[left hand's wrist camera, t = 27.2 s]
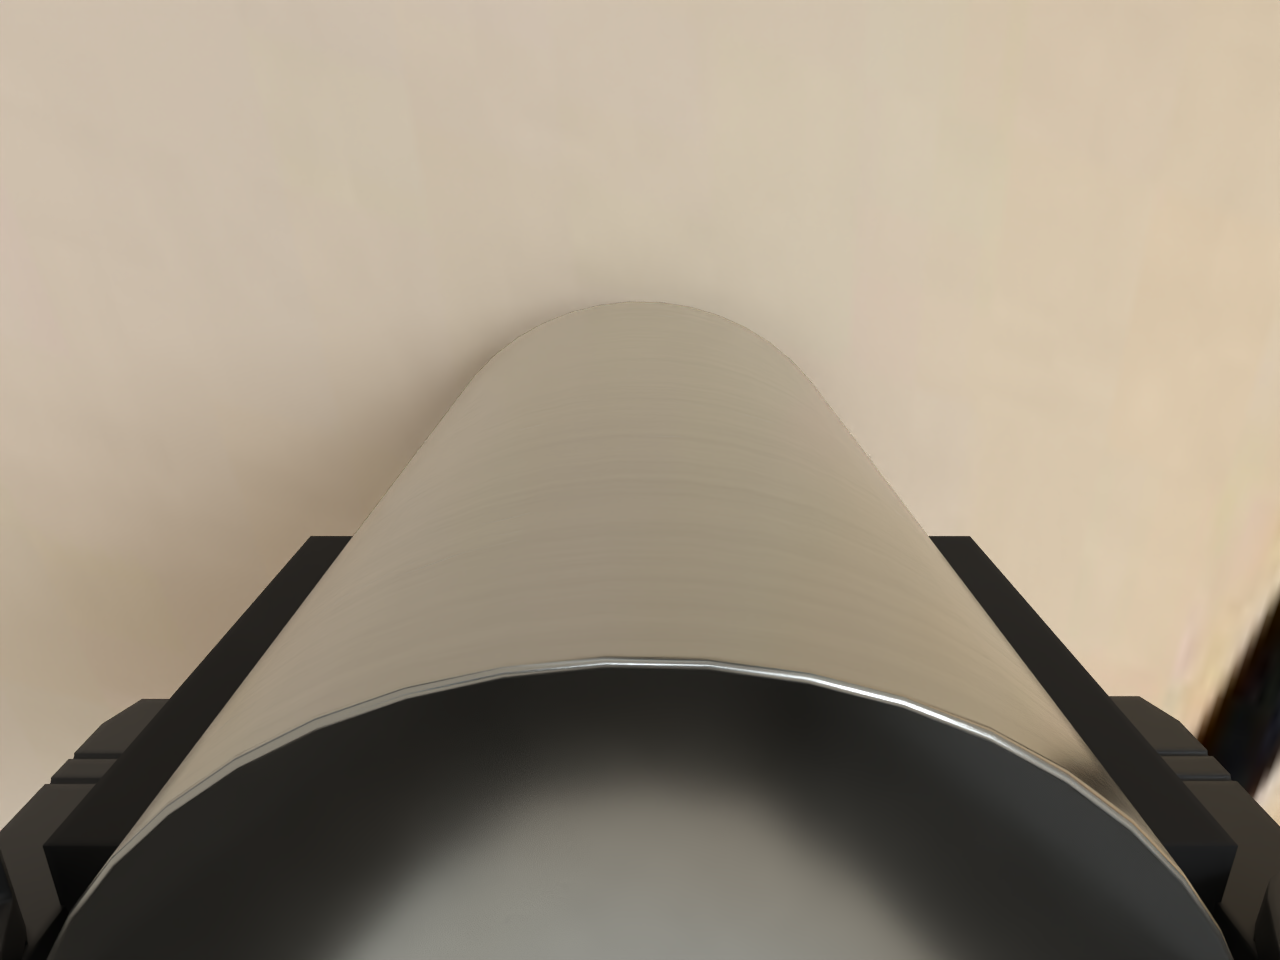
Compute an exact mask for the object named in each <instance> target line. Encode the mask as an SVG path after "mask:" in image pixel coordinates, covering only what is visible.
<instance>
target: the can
mask: <svg viewBox="0 0 1280 960" xmlns="http://www.w3.org/2000/svg"><path fill="white" fill-rule="evenodd" d="M46 960H1234V959H1233V957H1232V955H1231V952H1230V950H1229V948H1228V945H1227V943H1226V940H1225V938H1224V936H1223V933H1222V931H1221V929H1220V927H1219V926H1218V924H1217V923H1216V921H1215V919H1214V918H1213V916H1212V915H1211V913H1210V912H1209V910H1208V909H1207V907H1206V906H1205V904H1204V903H1203V901H1202V900H1201V898H1200V897H1199V895H1198V894H1197V892H1196V891H1195V889H1194V888H1193V886H1192V885H1191V883H1190V882H1189V880H1188V879H1187V877H1186V876H1185V874H1184V873H1183V871H1182V870H1181V869H1180V867H1179V866H1178V865H1177V863H1176V862H1175V861H1174V860H1173V858H1172V857H1171V856H1170V854H1169V853H1168V852H1167V850H1166V849H1165V848H1164V846H1163V845H1162V844H1161V842H1160V841H1159V840H1158V838H1157V837H1156V836H1155V834H1154V833H1153V832H1152V831H1151V829H1150V828H1149V827H1148V825H1147V824H1146V823H1145V821H1144V820H1143V819H1142V817H1141V816H1140V815H1139V813H1138V812H1137V811H1136V809H1135V808H1134V807H1133V805H1132V804H1131V803H1130V802H1129V800H1128V799H1127V798H1126V796H1125V795H1124V794H1123V792H1122V791H1121V790H1120V788H1119V787H1118V786H1117V784H1116V783H1115V782H1114V780H1113V779H1112V778H1111V776H1110V775H1109V774H1108V773H1107V771H1106V770H1105V769H1104V767H1103V766H1102V765H1101V763H1100V762H1099V761H1098V759H1097V758H1096V757H1095V755H1094V754H1093V753H1092V751H1091V750H1090V749H1089V747H1088V746H1087V745H1086V744H1085V742H1084V741H1083V740H1082V738H1081V737H1080V736H1079V734H1078V733H1077V732H1076V730H1075V729H1074V728H1073V726H1072V725H1071V724H1070V722H1069V721H1068V720H1067V718H1066V717H1065V716H1064V715H1063V713H1062V712H1061V711H1060V709H1059V708H1058V707H1057V705H1056V704H1055V703H1054V701H1053V700H1052V699H1051V697H1050V696H1049V695H1048V693H1047V692H1046V691H1045V689H1044V688H1043V687H1042V686H1041V684H1040V683H1039V682H1038V680H1037V679H1036V678H1035V676H1034V675H1033V674H1032V672H1031V671H1030V670H1029V668H1028V667H1027V666H1026V664H1025V663H1024V662H1023V660H1022V659H1021V658H1020V656H1019V655H1018V654H1017V653H1016V651H1015V650H1014V649H1013V647H1012V646H1011V645H1010V643H1009V642H1008V641H1007V639H1006V638H1005V637H1004V635H1003V634H1002V633H1001V631H1000V630H999V629H998V627H997V626H996V625H995V624H994V622H993V621H992V620H991V618H990V617H989V616H988V614H987V613H986V612H985V610H984V609H983V608H982V606H981V605H980V604H979V602H978V601H977V600H976V598H975V597H974V596H973V595H972V593H971V592H970V591H969V589H968V588H967V587H966V585H965V584H964V583H963V581H962V580H961V579H960V577H959V576H958V575H957V573H956V572H955V571H954V569H953V568H952V567H951V566H950V564H949V563H948V562H947V560H946V559H945V558H944V556H943V555H942V554H941V552H940V551H939V550H938V548H937V547H936V546H935V544H934V543H933V542H932V540H931V539H930V538H929V537H928V535H927V534H926V533H925V531H924V530H923V529H922V527H921V526H920V525H919V523H918V522H917V521H916V519H915V518H914V517H913V515H912V514H911V513H910V511H909V510H908V509H907V508H906V506H905V505H904V504H903V502H902V501H901V500H900V498H899V497H898V496H897V494H896V493H895V492H894V490H893V489H892V488H891V486H890V485H889V484H888V482H887V481H886V480H885V479H884V477H883V476H882V475H881V473H880V472H879V471H878V469H877V468H876V467H875V465H874V464H873V463H872V461H871V460H870V459H869V457H868V456H867V455H866V453H865V452H864V451H863V450H862V448H861V447H860V446H859V444H858V443H857V442H856V440H855V439H854V438H853V436H852V435H851V434H850V432H849V431H848V430H847V428H846V427H845V426H844V424H843V423H842V422H841V421H840V419H839V418H838V417H837V415H836V414H835V413H834V411H833V410H832V409H831V407H830V406H829V405H828V403H827V402H826V401H825V399H824V398H823V397H822V395H821V394H820V393H819V391H818V390H817V389H816V388H815V386H814V385H813V384H812V382H811V381H810V380H809V379H808V378H807V377H806V376H805V374H804V373H803V372H802V371H801V370H800V369H799V368H798V367H797V366H796V365H795V364H794V362H793V361H792V360H790V359H789V358H788V357H787V356H786V355H784V354H783V353H782V352H781V351H780V350H778V349H777V348H776V347H775V346H774V345H772V344H771V343H770V342H768V341H767V340H765V339H764V338H762V337H760V336H759V335H757V334H755V333H754V332H752V331H751V330H749V329H747V328H746V327H744V326H741V325H739V324H737V323H735V322H732V321H730V320H728V319H726V318H724V317H721V316H719V315H716V314H713V313H709V312H706V311H702V310H699V309H696V308H692V307H688V306H681V305H675V304H668V303H662V302H622V303H613V304H604V305H598V306H594V307H590V308H586V309H582V310H578V311H574V312H570V313H568V314H565V315H563V316H560V317H558V318H555V319H553V320H550V321H548V322H545V323H543V324H541V325H539V326H537V327H536V328H534V329H532V330H530V331H529V332H527V333H525V334H523V335H521V336H520V337H518V338H517V339H515V340H514V341H513V342H511V343H510V344H509V345H507V346H506V347H505V348H503V349H502V350H501V351H499V352H498V353H497V354H496V355H494V356H493V357H492V358H491V359H490V360H489V361H488V362H487V363H486V364H485V365H484V366H483V367H482V368H481V369H480V370H479V371H478V373H477V374H476V375H475V376H474V377H473V378H472V380H471V381H470V382H469V384H468V385H467V386H466V388H465V389H464V390H463V392H462V393H461V394H460V396H459V397H458V398H457V400H456V401H455V402H454V404H453V405H452V406H451V407H450V409H449V410H448V411H447V413H446V414H445V415H444V417H443V418H442V419H441V421H440V422H439V423H438V425H437V426H436V427H435V429H434V430H433V431H432V433H431V434H430V435H429V437H428V438H427V439H426V441H425V442H424V443H423V444H422V446H421V447H420V448H419V450H418V451H417V452H416V454H415V455H414V456H413V458H412V459H411V460H410V462H409V463H408V464H407V466H406V467H405V468H404V470H403V471H402V472H401V474H400V475H399V476H398V478H397V479H396V480H395V482H394V483H393V484H392V485H391V487H390V488H389V489H388V491H387V492H386V493H385V495H384V496H383V497H382V499H381V500H380V501H379V503H378V504H377V505H376V507H375V508H374V509H373V511H372V512H371V513H370V515H369V516H368V517H367V519H366V520H365V521H364V522H363V524H362V525H361V526H360V528H359V529H358V530H357V532H356V533H355V534H354V536H353V537H352V538H351V540H350V541H349V542H348V544H347V545H346V546H345V548H344V549H343V550H342V552H341V553H340V554H339V556H338V557H337V558H336V560H335V561H334V562H333V563H332V565H331V566H330V567H329V569H328V570H327V571H326V573H325V574H324V575H323V577H322V578H321V579H320V581H319V582H318V583H317V585H316V586H315V587H314V589H313V590H312V591H311V593H310V594H309V595H308V597H307V598H306V599H305V601H304V602H303V603H302V604H301V606H300V607H299V608H298V610H297V611H296V612H295V614H294V615H293V616H292V618H291V619H290V620H289V622H288V623H287V624H286V626H285V627H284V628H283V630H282V631H281V632H280V634H279V635H278V636H277V638H276V639H275V640H274V641H273V643H272V644H271V645H270V647H269V648H268V649H267V651H266V652H265V653H264V655H263V656H262V657H261V659H260V660H259V661H258V663H257V664H256V665H255V667H254V668H253V669H252V671H251V672H250V673H249V675H248V676H247V677H246V679H245V680H244V681H243V682H242V684H241V685H240V686H239V688H238V689H237V690H236V692H235V693H234V694H233V696H232V697H231V698H230V700H229V701H228V702H227V704H226V705H225V706H224V708H223V709H222V710H221V712H220V713H219V714H218V716H217V717H216V718H215V720H214V721H213V722H212V723H211V725H210V726H209V727H208V729H207V730H206V731H205V733H204V734H203V735H202V737H201V738H200V739H199V741H198V742H197V743H196V745H195V746H194V747H193V749H192V750H191V751H190V753H189V754H188V755H187V757H186V758H185V759H184V760H183V762H182V763H181V764H180V766H179V767H178V768H177V770H176V771H175V772H174V774H173V775H172V776H171V778H170V779H169V780H168V782H167V783H166V784H165V786H164V787H163V788H162V790H161V791H160V792H159V794H158V795H157V796H156V798H155V799H154V800H153V801H152V803H151V804H150V805H149V807H148V808H147V809H146V811H145V812H144V813H143V815H142V816H141V817H140V819H139V820H138V821H137V823H136V824H135V825H134V827H133V828H132V829H131V831H130V832H129V833H128V835H127V836H126V837H125V838H124V840H123V841H122V842H121V844H120V845H119V846H118V848H117V849H116V850H115V852H114V853H113V854H112V856H111V857H110V858H109V860H108V861H107V862H106V864H105V865H104V866H103V868H102V869H101V870H100V872H99V873H98V874H97V876H96V877H95V878H94V880H93V881H92V882H91V884H90V885H89V886H88V888H87V889H86V891H85V892H84V893H83V895H82V896H81V897H80V899H79V900H78V901H77V903H76V904H75V905H74V907H73V908H72V909H71V911H70V912H69V915H68V917H67V919H66V921H65V923H64V925H63V927H62V929H61V931H60V933H59V935H58V937H57V939H56V941H55V943H54V945H53V947H52V949H51V951H50V953H49V955H48V957H47V959H46Z"/></svg>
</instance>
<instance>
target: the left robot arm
mask: <svg viewBox="0 0 1280 960" xmlns="http://www.w3.org/2000/svg"><path fill="white" fill-rule="evenodd" d="M352 537H353V536H310V538H309V539H308V540H307V541H306V542H305V543H304V545H303V546H302V547H301V548H300V549H299V550H298V551H297V553H296V554H295V555H294V556H293V557H292V558H291V560H290V561H289V562H288V563H287V564H286V565H285V566H284V568H283V569H282V570H281V571H280V572H279V573H278V575H277V576H276V577H275V578H274V579H273V580H272V581H271V583H270V584H269V585H268V586H267V587H266V588H265V590H264V591H263V592H262V593H261V594H260V595H259V596H258V598H257V599H256V600H255V601H254V602H253V603H252V605H251V606H250V607H249V608H248V609H247V610H246V611H245V613H244V614H243V615H242V616H241V617H240V618H239V619H238V621H237V622H236V623H235V624H234V625H233V626H232V628H231V629H230V630H229V631H228V632H227V633H226V634H225V636H224V637H223V638H222V639H221V640H220V641H219V643H218V644H217V645H216V646H215V647H214V648H213V649H212V651H211V652H210V653H209V654H208V655H207V656H206V658H205V659H204V660H203V661H202V662H201V663H200V664H199V666H198V667H197V668H196V669H195V670H194V671H193V673H192V674H191V675H190V676H189V677H188V678H187V679H186V681H185V682H184V683H183V684H182V685H181V686H180V688H179V689H178V690H177V691H176V692H175V693H174V694H173V696H172V697H171V698H170V699H141V700H140V701H138V702H137V703H135V704H133V705H132V706H130V707H129V708H127V709H125V710H124V711H122V712H121V713H119V714H117V715H116V716H114V717H113V718H111V719H109V720H108V721H106V722H105V723H103V724H102V725H101V726H100V727H99V728H98V729H97V730H96V731H95V732H94V733H93V734H92V735H91V736H90V737H89V738H88V739H87V740H86V741H85V743H84V744H83V745H82V746H81V747H80V748H79V749H78V750H77V751H76V752H75V753H74V758H73V759H68V760H67V762H66V763H65V764H64V765H63V766H62V767H61V768H60V769H59V770H58V771H57V772H56V773H55V774H54V775H53V776H52V777H51V783H50V784H45V785H44V786H43V787H42V788H41V789H40V790H39V791H38V792H37V793H36V794H35V795H34V796H33V797H32V798H31V800H30V801H29V802H28V803H27V804H26V805H25V806H24V807H23V808H22V809H21V810H20V811H19V812H18V813H17V814H16V815H15V816H14V817H13V819H12V820H11V821H10V822H9V823H8V824H7V825H6V826H5V827H4V828H3V829H2V830H1V831H0V960H46V959H47V957H48V955H49V953H50V951H51V949H52V947H53V945H54V943H55V941H56V939H57V937H58V935H59V933H60V931H61V929H62V927H63V925H64V923H65V921H66V919H67V917H68V915H69V912H70V911H71V909H72V908H73V907H74V905H75V904H76V903H77V901H78V900H79V899H80V897H81V896H82V895H83V893H84V892H85V891H86V889H87V888H88V886H89V885H90V884H91V882H92V881H93V880H94V878H95V877H96V876H97V874H98V873H99V872H100V870H101V869H102V868H103V866H104V865H105V864H106V862H107V861H108V860H109V858H110V857H111V856H112V854H113V853H114V852H115V850H116V849H117V848H118V846H119V845H120V844H121V842H122V841H123V840H124V838H125V837H126V836H127V835H128V833H129V832H130V831H131V829H132V828H133V827H134V825H135V824H136V823H137V821H138V820H139V819H140V817H141V816H142V815H143V813H144V812H145V811H146V809H147V808H148V807H149V805H150V804H151V803H152V801H153V800H154V799H155V798H156V796H157V795H158V794H159V792H160V791H161V790H162V788H163V787H164V786H165V784H166V783H167V782H168V780H169V779H170V778H171V776H172V775H173V774H174V772H175V771H176V770H177V768H178V767H179V766H180V764H181V763H182V762H183V760H184V759H185V758H186V757H187V755H188V754H189V753H190V751H191V750H192V749H193V747H194V746H195V745H196V743H197V742H198V741H199V739H200V738H201V737H202V735H203V734H204V733H205V731H206V730H207V729H208V727H209V726H210V725H211V723H212V722H213V721H214V720H215V718H216V717H217V716H218V714H219V713H220V712H221V710H222V709H223V708H224V706H225V705H226V704H227V702H228V701H229V700H230V698H231V697H232V696H233V694H234V693H235V692H236V690H237V689H238V688H239V686H240V685H241V684H242V682H243V681H244V680H245V679H246V677H247V676H248V675H249V673H250V672H251V671H252V669H253V668H254V667H255V665H256V664H257V663H258V661H259V660H260V659H261V657H262V656H263V655H264V653H265V652H266V651H267V649H268V648H269V647H270V645H271V644H272V643H273V641H274V640H275V639H276V638H277V636H278V635H279V634H280V632H281V631H282V630H283V628H284V627H285V626H286V624H287V623H288V622H289V620H290V619H291V618H292V616H293V615H294V614H295V612H296V611H297V610H298V608H299V607H300V606H301V604H302V603H303V602H304V601H305V599H306V598H307V597H308V595H309V594H310V593H311V591H312V590H313V589H314V587H315V586H316V585H317V583H318V582H319V581H320V579H321V578H322V577H323V575H324V574H325V573H326V571H327V570H328V569H329V567H330V566H331V565H332V563H333V562H334V561H335V560H336V558H337V557H338V556H339V554H340V553H341V552H342V550H343V549H344V548H345V546H346V545H347V544H348V542H349V541H350V540H351V538H352ZM928 537H929V538H930V539H931V540H932V542H933V543H934V544H935V546H936V547H937V548H938V550H939V551H940V552H941V554H942V555H943V556H944V558H945V559H946V560H947V562H948V563H949V564H950V566H951V567H952V568H953V569H954V571H955V572H956V573H957V575H958V576H959V577H960V579H961V580H962V581H963V583H964V584H965V585H966V587H967V588H968V589H969V591H970V592H971V593H972V595H973V596H974V597H975V598H976V600H977V601H978V602H979V604H980V605H981V606H982V608H983V609H984V610H985V612H986V613H987V614H988V616H989V617H990V618H991V620H992V621H993V622H994V624H995V625H996V626H997V627H998V629H999V630H1000V631H1001V633H1002V634H1003V635H1004V637H1005V638H1006V639H1007V641H1008V642H1009V643H1010V645H1011V646H1012V647H1013V649H1014V650H1015V651H1016V653H1017V654H1018V655H1019V656H1020V658H1021V659H1022V660H1023V662H1024V663H1025V664H1026V666H1027V667H1028V668H1029V670H1030V671H1031V672H1032V674H1033V675H1034V676H1035V678H1036V679H1037V680H1038V682H1039V683H1040V684H1041V686H1042V687H1043V688H1044V689H1045V691H1046V692H1047V693H1048V695H1049V696H1050V697H1051V699H1052V700H1053V701H1054V703H1055V704H1056V705H1057V707H1058V708H1059V709H1060V711H1061V712H1062V713H1063V715H1064V716H1065V717H1066V718H1067V720H1068V721H1069V722H1070V724H1071V725H1072V726H1073V728H1074V729H1075V730H1076V732H1077V733H1078V734H1079V736H1080V737H1081V738H1082V740H1083V741H1084V742H1085V744H1086V745H1087V746H1088V747H1089V749H1090V750H1091V751H1092V753H1093V754H1094V755H1095V757H1096V758H1097V759H1098V761H1099V762H1100V763H1101V765H1102V766H1103V767H1104V769H1105V770H1106V771H1107V773H1108V774H1109V775H1110V776H1111V778H1112V779H1113V780H1114V782H1115V783H1116V784H1117V786H1118V787H1119V788H1120V790H1121V791H1122V792H1123V794H1124V795H1125V796H1126V798H1127V799H1128V800H1129V802H1130V803H1131V804H1132V805H1133V807H1134V808H1135V809H1136V811H1137V812H1138V813H1139V815H1140V816H1141V817H1142V819H1143V820H1144V821H1145V823H1146V824H1147V825H1148V827H1149V828H1150V829H1151V831H1152V832H1153V833H1154V834H1155V836H1156V837H1157V838H1158V840H1159V841H1160V842H1161V844H1162V845H1163V846H1164V848H1165V849H1166V850H1167V852H1168V853H1169V854H1170V856H1171V857H1172V858H1173V860H1174V861H1175V862H1176V863H1177V865H1178V866H1179V867H1180V869H1181V870H1182V871H1183V873H1184V874H1185V876H1186V877H1187V879H1188V880H1189V882H1190V883H1191V885H1192V886H1193V888H1194V889H1195V891H1196V892H1197V894H1198V895H1199V897H1200V898H1201V900H1202V901H1203V903H1204V904H1205V906H1206V907H1207V909H1208V910H1209V912H1210V913H1211V915H1212V916H1213V918H1214V919H1215V921H1216V923H1217V924H1218V926H1219V927H1220V929H1221V931H1222V933H1223V936H1224V938H1225V940H1226V943H1227V945H1228V948H1229V950H1230V952H1231V955H1232V957H1233V959H1234V960H1280V826H1279V825H1278V824H1277V823H1276V822H1275V821H1274V820H1273V819H1272V818H1271V817H1270V816H1269V815H1268V814H1267V813H1266V812H1265V810H1264V809H1263V808H1262V807H1261V806H1260V805H1259V804H1258V803H1257V802H1256V801H1255V800H1254V799H1253V798H1252V797H1251V796H1250V795H1249V794H1248V793H1247V792H1246V791H1245V790H1244V788H1243V787H1242V786H1241V785H1240V784H1239V783H1238V782H1237V781H1232V780H1231V778H1230V774H1229V773H1228V772H1227V771H1226V770H1225V769H1224V768H1223V766H1222V765H1221V764H1220V763H1219V762H1218V761H1217V760H1216V759H1215V758H1214V757H1213V756H1208V754H1207V750H1206V749H1205V748H1204V747H1203V745H1202V744H1201V743H1200V742H1199V741H1198V740H1197V739H1196V738H1195V737H1194V736H1193V735H1192V734H1191V733H1190V732H1189V731H1188V730H1187V729H1186V728H1185V727H1184V726H1183V725H1182V723H1181V722H1180V721H1178V720H1177V719H1175V718H1173V717H1172V716H1170V715H1168V714H1167V713H1165V712H1164V711H1162V710H1160V709H1159V708H1157V707H1156V706H1154V705H1152V704H1151V703H1149V702H1148V701H1146V700H1144V699H1143V698H1141V697H1139V696H1108V695H1107V694H1106V693H1105V691H1104V690H1103V689H1102V688H1101V687H1100V686H1099V685H1098V683H1097V682H1096V681H1095V680H1094V679H1093V678H1092V676H1091V675H1090V674H1089V673H1088V672H1087V671H1086V670H1085V668H1084V667H1083V666H1082V665H1081V664H1080V663H1079V661H1078V660H1077V659H1076V658H1075V657H1074V656H1073V655H1072V653H1071V652H1070V651H1069V650H1068V649H1067V648H1066V646H1065V645H1064V644H1063V643H1062V642H1061V641H1060V640H1059V638H1058V637H1057V636H1056V635H1055V634H1054V633H1053V631H1052V630H1051V629H1050V628H1049V627H1048V626H1047V625H1046V623H1045V622H1044V621H1043V620H1042V619H1041V618H1040V617H1039V615H1038V614H1037V613H1036V612H1035V611H1034V610H1033V608H1032V607H1031V606H1030V605H1029V604H1028V603H1027V602H1026V600H1025V599H1024V598H1023V597H1022V596H1021V595H1020V593H1019V592H1018V591H1017V590H1016V589H1015V588H1014V587H1013V585H1012V584H1011V583H1010V582H1009V581H1008V580H1007V578H1006V577H1005V576H1004V575H1003V574H1002V573H1001V572H1000V570H999V569H998V568H997V567H996V566H995V565H994V563H993V562H992V561H991V560H990V559H989V558H988V557H987V555H986V554H985V553H984V552H983V551H982V550H981V548H980V547H979V546H978V545H977V544H976V543H975V542H974V540H973V539H972V538H971V537H970V536H928Z"/></svg>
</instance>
